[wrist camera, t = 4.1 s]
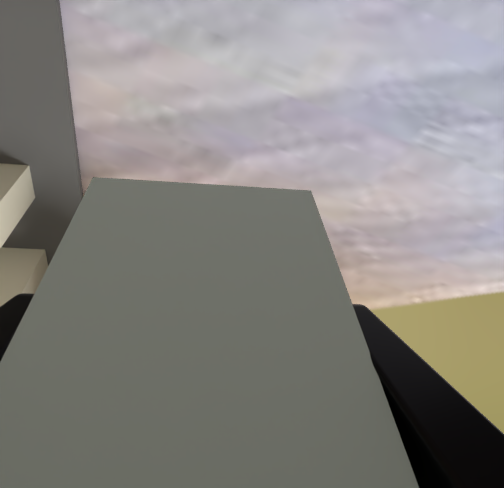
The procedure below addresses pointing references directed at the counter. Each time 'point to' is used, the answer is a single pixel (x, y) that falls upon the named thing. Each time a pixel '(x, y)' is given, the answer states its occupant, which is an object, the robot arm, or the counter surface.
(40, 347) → the domino
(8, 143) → the mat
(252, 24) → the counter surface
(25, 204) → the domino
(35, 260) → the domino
